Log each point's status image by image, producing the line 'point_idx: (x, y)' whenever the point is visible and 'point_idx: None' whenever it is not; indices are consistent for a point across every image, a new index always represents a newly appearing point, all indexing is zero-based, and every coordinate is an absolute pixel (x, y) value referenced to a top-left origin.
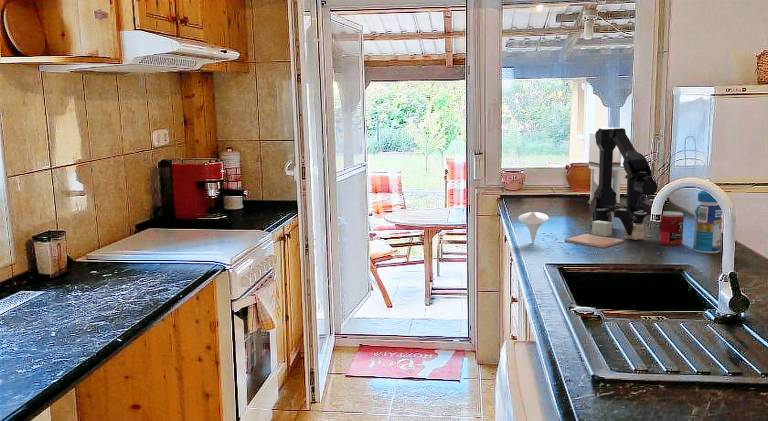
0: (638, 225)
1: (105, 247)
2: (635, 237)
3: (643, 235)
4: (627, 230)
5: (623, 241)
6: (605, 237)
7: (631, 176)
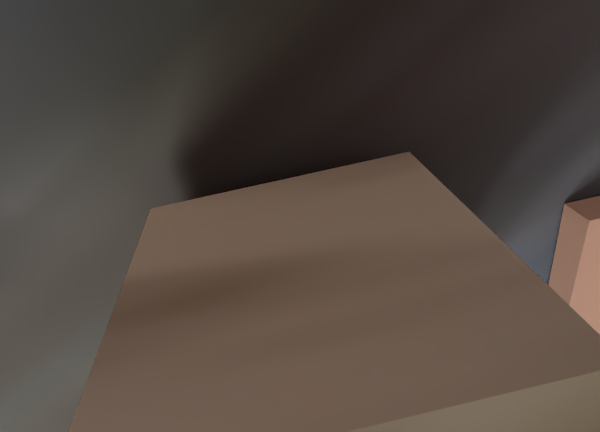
0: (455, 416)
1: None
2: (428, 181)
3: (145, 229)
4: None
5: (583, 205)
6: None
7: None
